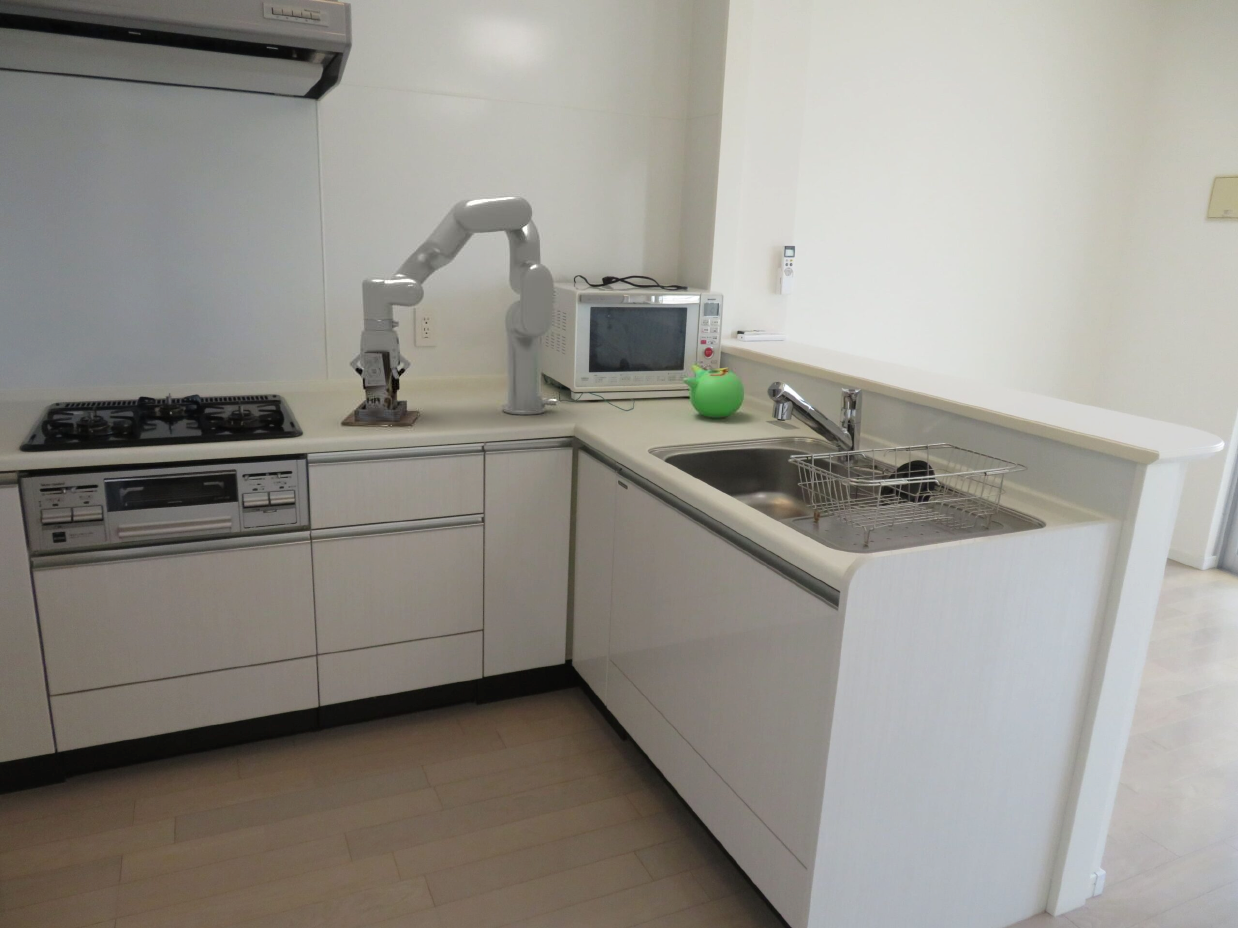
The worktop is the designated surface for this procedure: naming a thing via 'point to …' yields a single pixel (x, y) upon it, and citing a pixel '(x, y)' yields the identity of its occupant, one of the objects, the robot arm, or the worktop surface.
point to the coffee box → (379, 381)
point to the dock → (381, 416)
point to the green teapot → (715, 392)
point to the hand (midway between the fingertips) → (381, 391)
